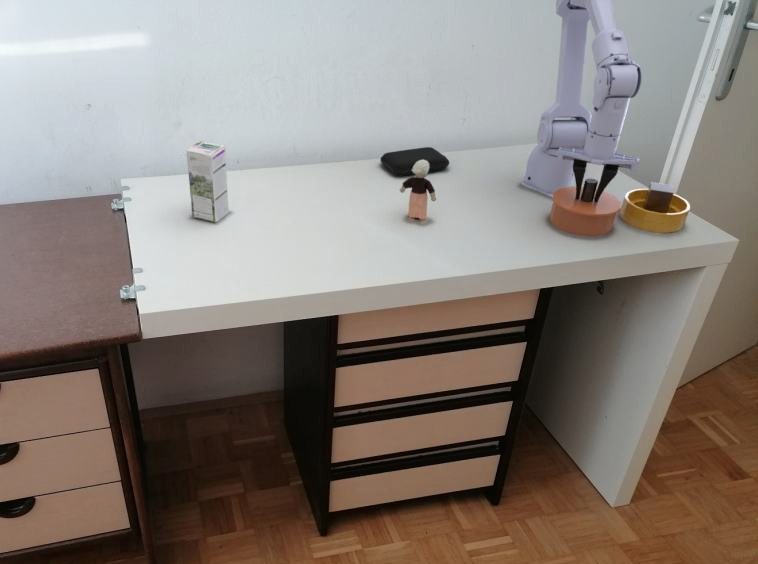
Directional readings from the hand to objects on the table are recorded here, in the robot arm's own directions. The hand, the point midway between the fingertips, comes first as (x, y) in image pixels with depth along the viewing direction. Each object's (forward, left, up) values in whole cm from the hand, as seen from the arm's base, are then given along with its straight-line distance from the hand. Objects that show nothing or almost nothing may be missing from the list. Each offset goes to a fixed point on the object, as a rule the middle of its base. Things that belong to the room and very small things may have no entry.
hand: (586, 198), depth 145 cm
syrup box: (-49, -57, -6) cm, 75 cm away
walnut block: (+8, +13, -5) cm, 16 cm away
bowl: (+8, +13, -6) cm, 16 cm away
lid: (0, 0, -1) cm, 1 cm away
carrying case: (-42, -5, -6) cm, 43 cm away
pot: (0, 0, -6) cm, 6 cm away
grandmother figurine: (-22, -25, -6) cm, 34 cm away
